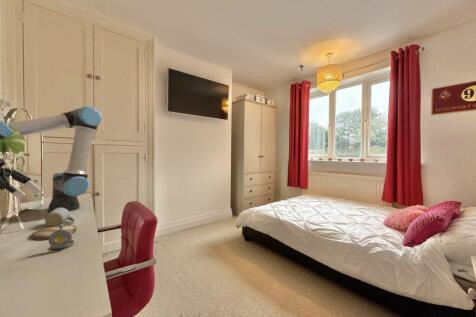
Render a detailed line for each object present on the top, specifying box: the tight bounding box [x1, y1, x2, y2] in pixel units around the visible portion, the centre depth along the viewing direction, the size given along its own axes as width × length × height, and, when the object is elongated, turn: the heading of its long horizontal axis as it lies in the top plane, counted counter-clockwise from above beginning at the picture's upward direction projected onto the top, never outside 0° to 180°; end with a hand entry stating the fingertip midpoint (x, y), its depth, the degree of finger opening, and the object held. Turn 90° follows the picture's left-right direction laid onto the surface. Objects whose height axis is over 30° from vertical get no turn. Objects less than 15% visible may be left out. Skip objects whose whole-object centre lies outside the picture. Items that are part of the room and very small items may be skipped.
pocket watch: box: [48, 223, 75, 250], centre depth 76 cm, size 8×8×10 cm
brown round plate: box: [30, 224, 78, 241], centre depth 89 cm, size 15×15×1 cm
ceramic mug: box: [44, 208, 76, 227], centre depth 100 cm, size 11×8×8 cm
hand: (30, 194), depth 96 cm, fingers open, 13 cm apart
